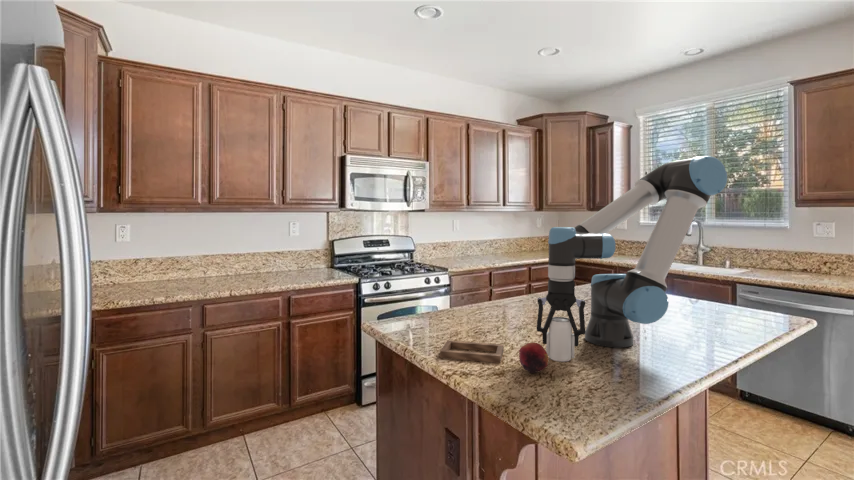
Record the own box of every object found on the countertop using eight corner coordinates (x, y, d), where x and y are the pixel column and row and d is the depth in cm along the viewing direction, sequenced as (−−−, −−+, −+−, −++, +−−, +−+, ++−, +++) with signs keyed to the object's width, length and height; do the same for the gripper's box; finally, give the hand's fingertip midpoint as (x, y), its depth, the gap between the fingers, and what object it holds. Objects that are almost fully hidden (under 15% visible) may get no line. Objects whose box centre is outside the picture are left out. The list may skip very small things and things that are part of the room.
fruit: (547, 368, 115) (547, 340, 115) (549, 378, 108) (549, 349, 107) (519, 366, 117) (519, 338, 116) (518, 376, 109) (519, 347, 109)
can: (572, 363, 119) (573, 322, 118) (549, 361, 120) (550, 321, 119) (569, 355, 125) (570, 317, 124) (547, 354, 126) (548, 316, 126)
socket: (503, 350, 130) (503, 344, 130) (500, 362, 119) (500, 356, 119) (447, 346, 134) (447, 340, 134) (440, 357, 124) (440, 351, 124)
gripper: (594, 278, 122) (592, 354, 124) (527, 276, 127) (527, 348, 129) (598, 282, 115) (596, 362, 117) (527, 279, 120) (526, 357, 121)
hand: (560, 355), depth 123 cm, fingers closed on can, 6 cm apart
